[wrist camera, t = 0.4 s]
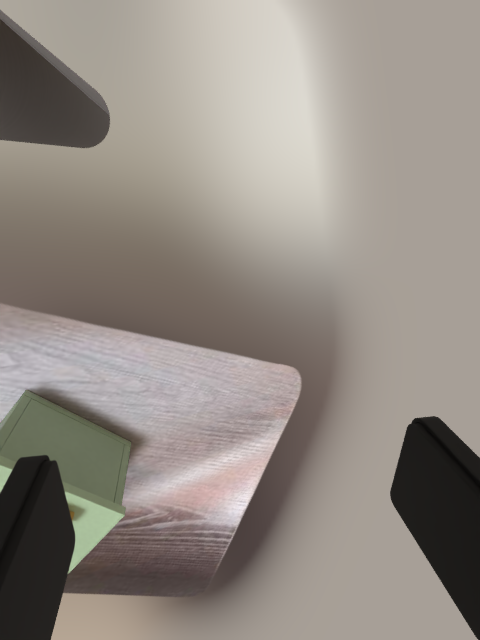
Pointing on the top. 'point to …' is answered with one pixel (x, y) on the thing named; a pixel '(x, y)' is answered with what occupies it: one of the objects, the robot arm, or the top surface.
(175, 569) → the top surface
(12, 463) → the lid
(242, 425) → the top surface
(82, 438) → the chest
